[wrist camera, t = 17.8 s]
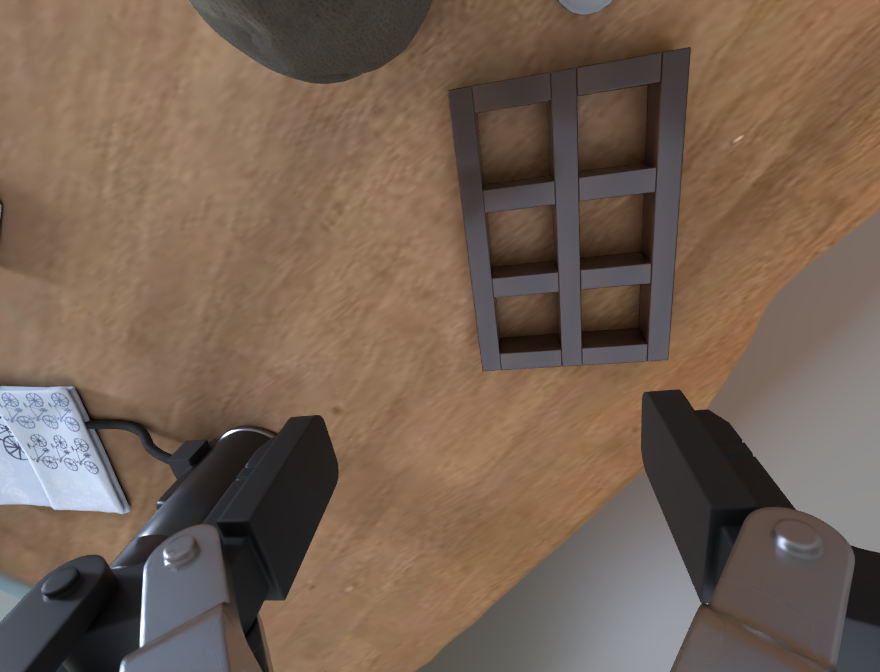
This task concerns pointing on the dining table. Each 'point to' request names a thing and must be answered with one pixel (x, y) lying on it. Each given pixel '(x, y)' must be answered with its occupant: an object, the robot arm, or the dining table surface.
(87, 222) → the dining table surface
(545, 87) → the open grid frame
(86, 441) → the white paper booklet
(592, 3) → the rook chess piece
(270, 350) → the dining table surface
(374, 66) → the cantaloupe
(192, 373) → the dining table surface
